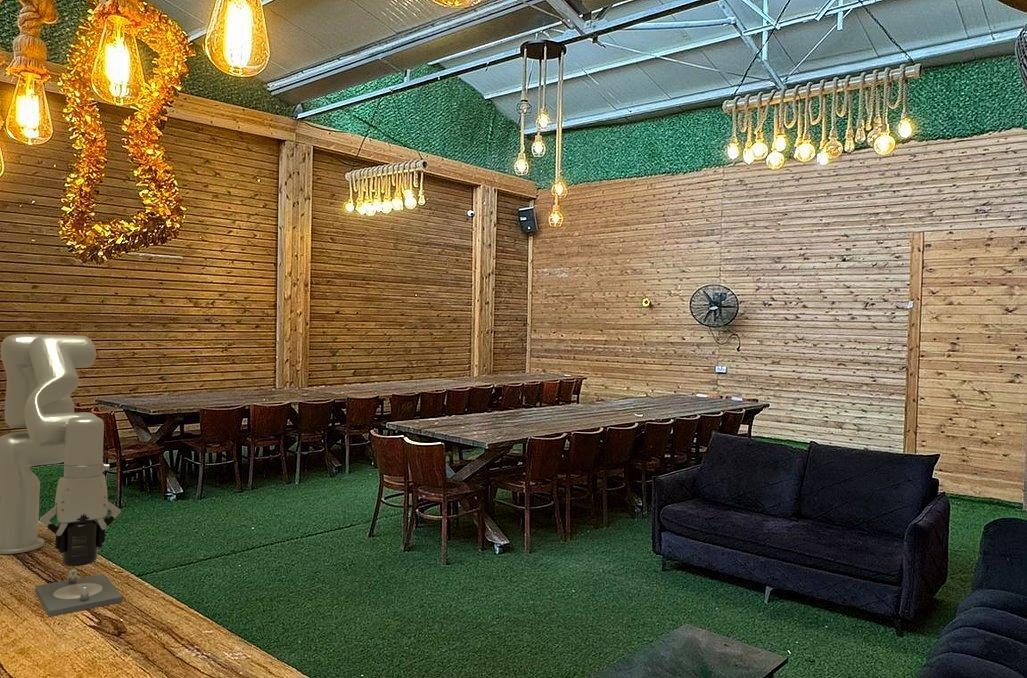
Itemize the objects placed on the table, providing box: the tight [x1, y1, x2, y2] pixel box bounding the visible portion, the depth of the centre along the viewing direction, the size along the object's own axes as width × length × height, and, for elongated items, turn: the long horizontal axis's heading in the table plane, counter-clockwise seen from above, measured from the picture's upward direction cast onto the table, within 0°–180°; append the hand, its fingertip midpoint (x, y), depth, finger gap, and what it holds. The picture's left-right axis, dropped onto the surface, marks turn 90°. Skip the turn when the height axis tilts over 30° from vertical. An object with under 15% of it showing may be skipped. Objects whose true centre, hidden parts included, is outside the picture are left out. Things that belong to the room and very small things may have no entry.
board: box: [34, 568, 123, 618], centre depth 161 cm, size 18×14×4 cm
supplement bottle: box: [62, 514, 99, 567], centre depth 161 cm, size 7×7×12 cm
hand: (80, 548), depth 161 cm, fingers closed on supplement bottle, 6 cm apart
